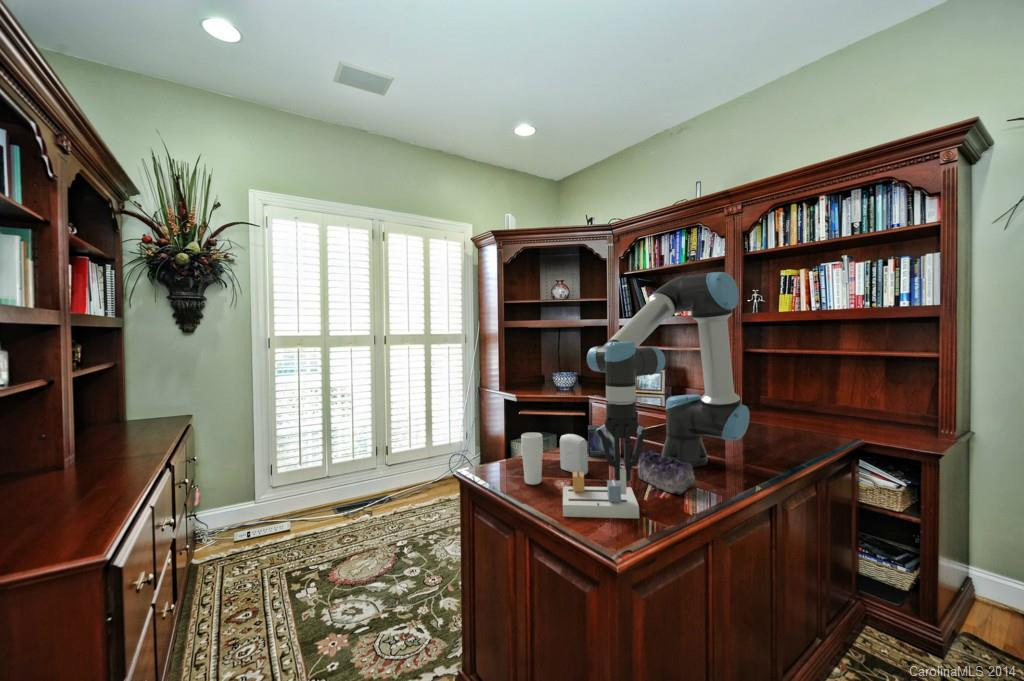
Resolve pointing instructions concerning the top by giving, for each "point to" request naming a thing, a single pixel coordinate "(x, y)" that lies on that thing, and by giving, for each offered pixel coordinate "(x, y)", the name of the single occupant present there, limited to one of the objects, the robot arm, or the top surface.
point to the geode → (665, 472)
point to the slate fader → (614, 491)
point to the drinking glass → (532, 457)
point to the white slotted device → (573, 453)
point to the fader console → (598, 503)
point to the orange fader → (578, 481)
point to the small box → (599, 443)
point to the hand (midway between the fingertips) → (622, 492)
